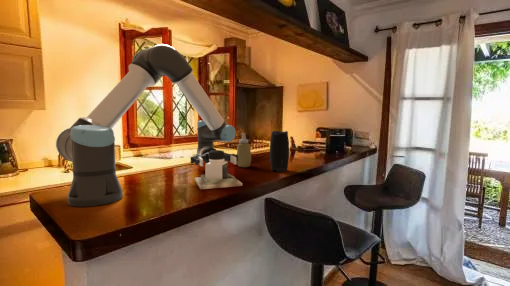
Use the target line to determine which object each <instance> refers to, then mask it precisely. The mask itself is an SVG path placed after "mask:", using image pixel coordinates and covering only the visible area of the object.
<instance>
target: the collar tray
mask: <svg viewBox="0 0 510 286" xmlns="http://www.w3.org/2000/svg"><path fill="white" fill-rule="evenodd" d="M194 181H195V183H196V185H197V186H198V189H200V190H208V189H219V188H220V189H222V188H230V187H231V188H232V187H242V186H243V182H241V181H240V180H239V179H237V178H236V177H235V176H234V175H232V174H230V173H229V172H228V179H217V180H206V175H205V174H200V177H194Z"/></svg>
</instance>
